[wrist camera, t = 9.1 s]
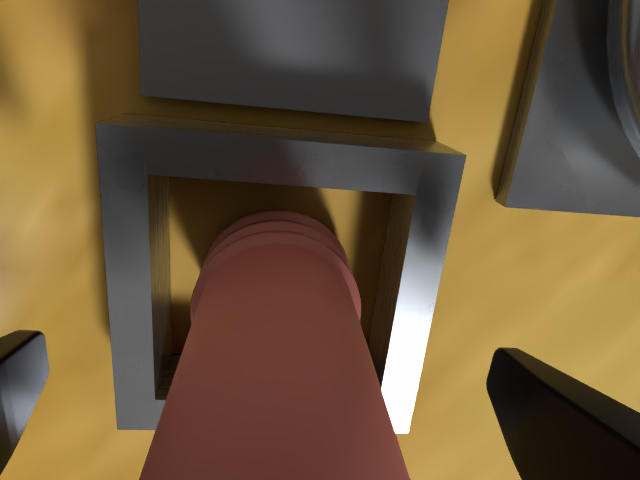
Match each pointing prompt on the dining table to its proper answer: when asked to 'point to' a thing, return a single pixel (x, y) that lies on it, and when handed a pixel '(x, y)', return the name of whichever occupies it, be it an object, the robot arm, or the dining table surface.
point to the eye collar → (270, 168)
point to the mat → (295, 54)
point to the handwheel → (625, 64)
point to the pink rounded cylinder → (275, 366)
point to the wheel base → (570, 122)
